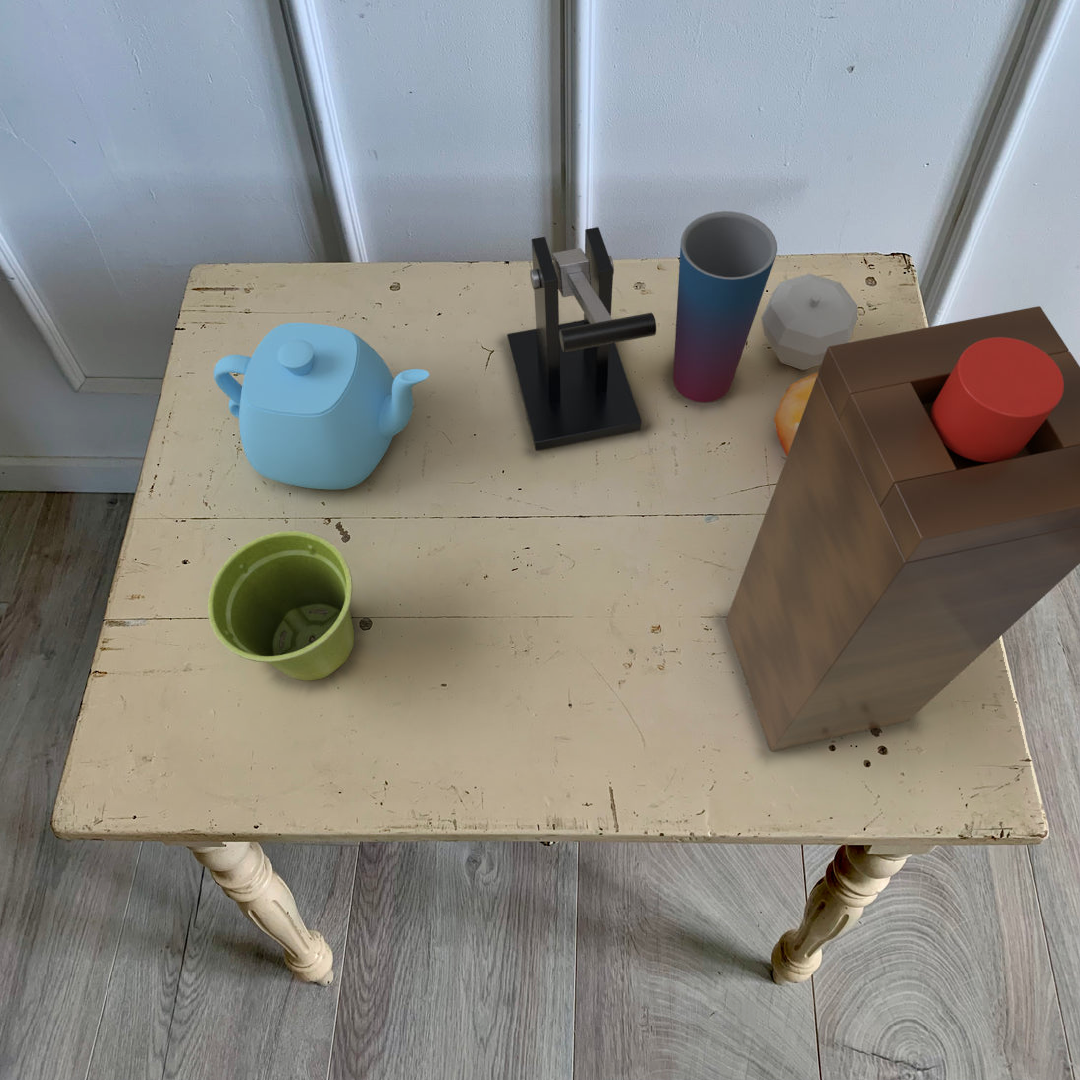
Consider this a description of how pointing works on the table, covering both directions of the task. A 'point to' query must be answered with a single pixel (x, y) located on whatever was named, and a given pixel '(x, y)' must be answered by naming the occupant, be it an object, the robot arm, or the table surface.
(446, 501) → the table surface
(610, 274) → the bracket
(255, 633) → the plant pot
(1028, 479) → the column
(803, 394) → the fruit
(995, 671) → the table surface
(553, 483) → the table surface
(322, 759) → the table surface
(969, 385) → the button
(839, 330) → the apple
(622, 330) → the lever
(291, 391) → the teapot
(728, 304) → the cup
